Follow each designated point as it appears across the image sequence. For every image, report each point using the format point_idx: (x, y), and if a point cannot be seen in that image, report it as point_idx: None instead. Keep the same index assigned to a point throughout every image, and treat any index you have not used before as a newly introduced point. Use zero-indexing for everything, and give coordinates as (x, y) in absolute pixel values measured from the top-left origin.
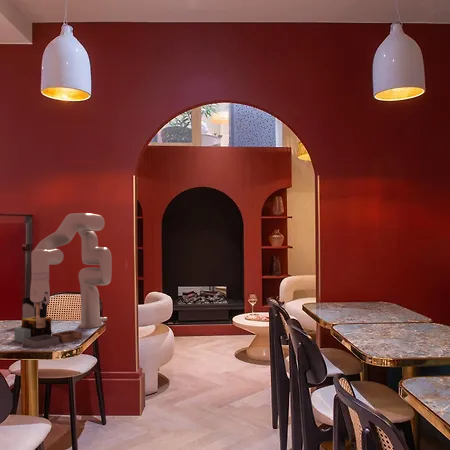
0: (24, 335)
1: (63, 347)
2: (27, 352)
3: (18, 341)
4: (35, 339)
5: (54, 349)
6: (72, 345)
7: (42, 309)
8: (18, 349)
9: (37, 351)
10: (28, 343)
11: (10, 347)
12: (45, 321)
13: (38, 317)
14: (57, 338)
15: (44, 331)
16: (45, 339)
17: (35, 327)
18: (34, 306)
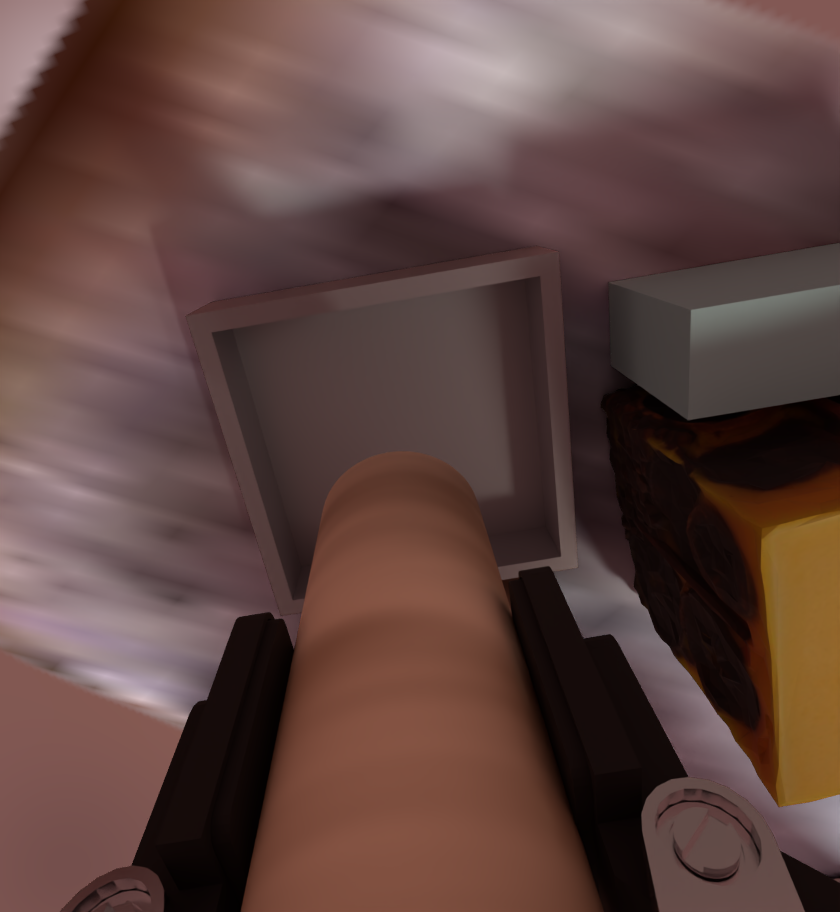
0: (651, 298)
1: (75, 552)
2: (16, 133)
3: (780, 254)
4: (542, 413)
5: (21, 454)
6: (123, 639)
7: (133, 879)
8: (295, 90)
9: (11, 264)
10: (399, 273)
11: (513, 34)
12: (755, 695)
13: (326, 596)
14: (277, 595)
15: (676, 583)
16: (546, 521)
17: (695, 504)
18: (723, 841)
